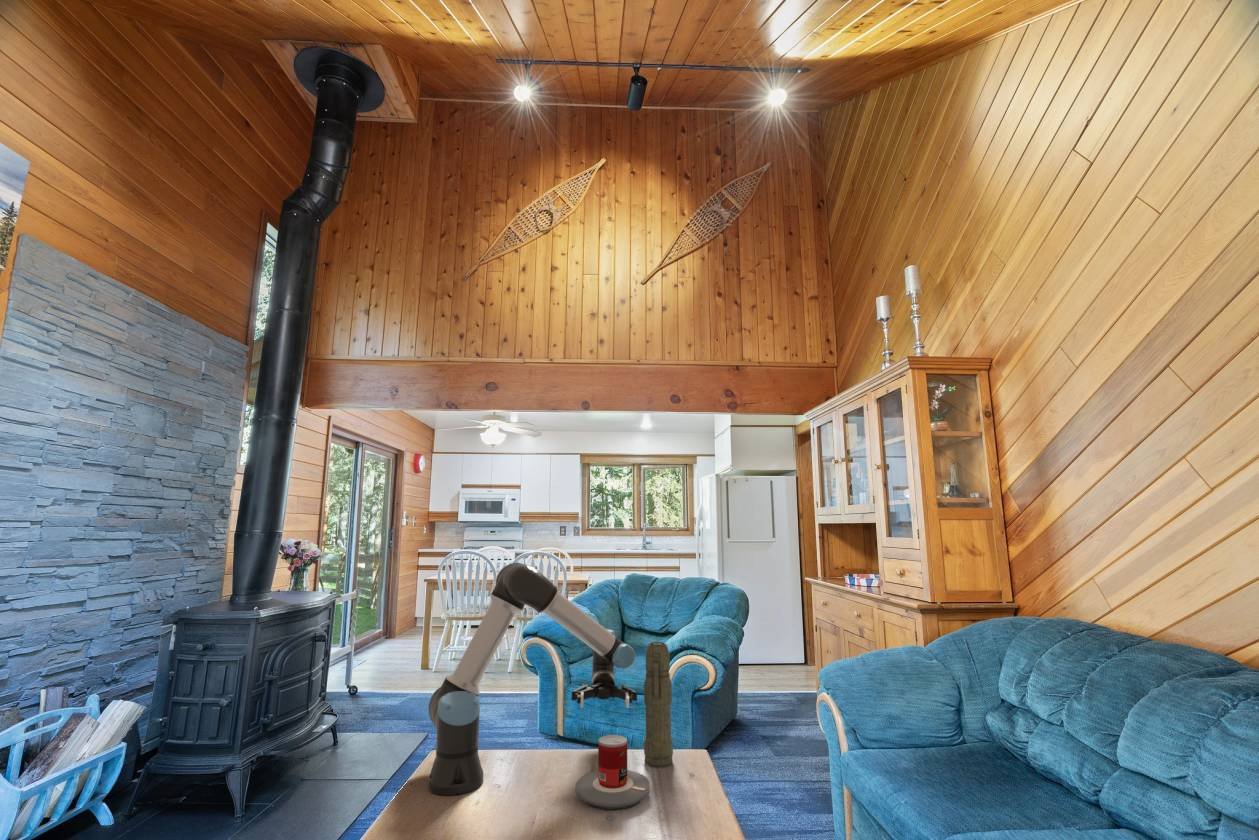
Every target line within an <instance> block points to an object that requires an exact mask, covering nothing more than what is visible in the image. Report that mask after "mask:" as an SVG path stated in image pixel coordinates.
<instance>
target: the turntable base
mask: <svg viewBox="0 0 1259 840" xmlns="http://www.w3.org/2000/svg"><path fill="white" fill-rule="evenodd" d="M641 802H642V801H640V802H638V803H635V804H632V805H628V806H621V807H602V806H596V805H592V804H589V803H586V802H584V803H585V804H586V805H587V806H589V807H590V808H594V809H596V810H599V811H600V810H601V811H610V812H611V811H624V810H627V809H631V808H633V807H636V806H637V805H639V804H640V803H641Z"/></svg>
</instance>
